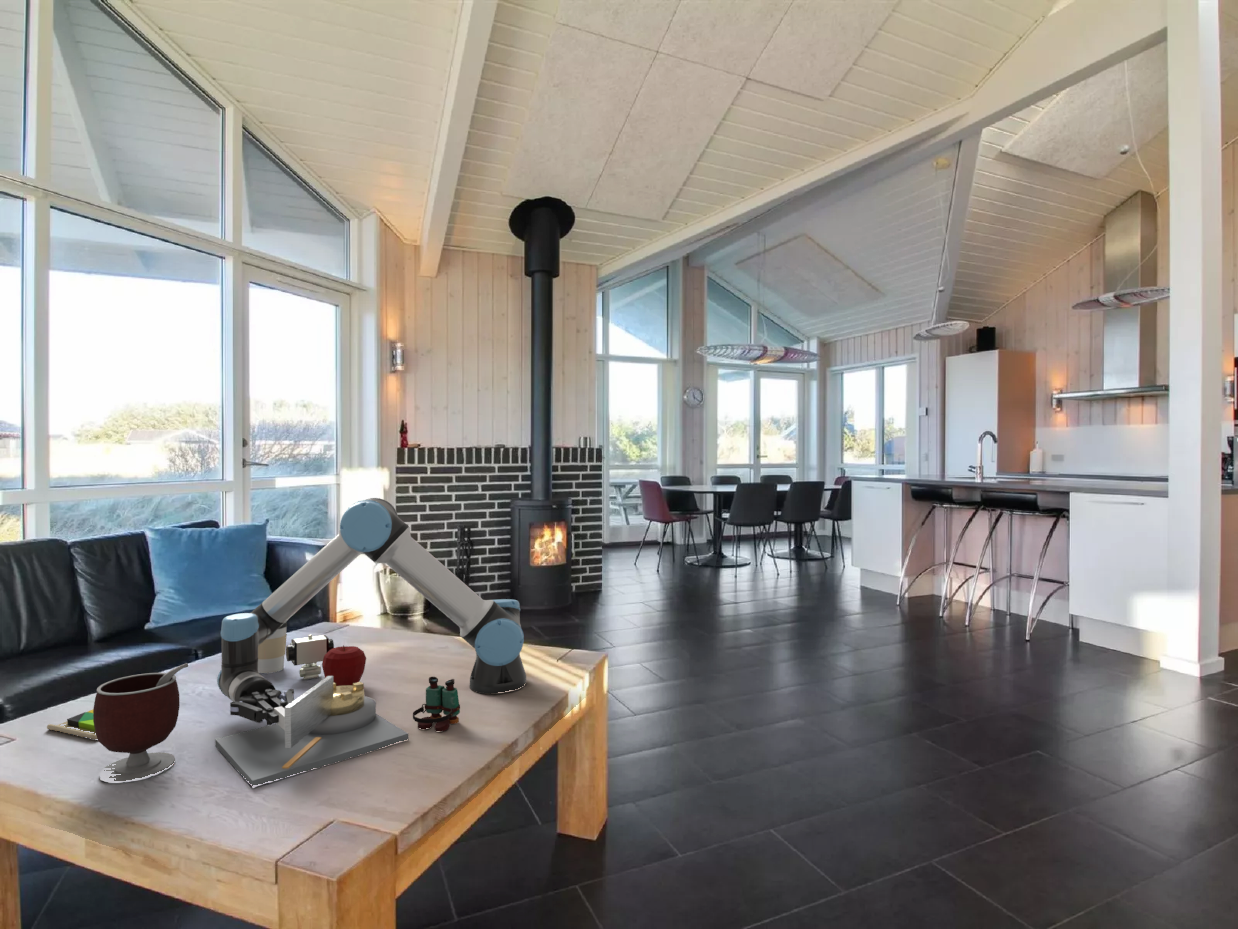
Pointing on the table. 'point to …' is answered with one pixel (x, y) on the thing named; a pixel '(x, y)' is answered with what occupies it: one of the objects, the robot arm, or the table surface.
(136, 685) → the mate gourd
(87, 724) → the wooden puzzle
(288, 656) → the pneumatic valve
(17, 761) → the table surface
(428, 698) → the binoculars
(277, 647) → the coffee cup
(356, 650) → the apple
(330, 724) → the grey flat slab
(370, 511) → the robot arm
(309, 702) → the two-tone lugged fixture
